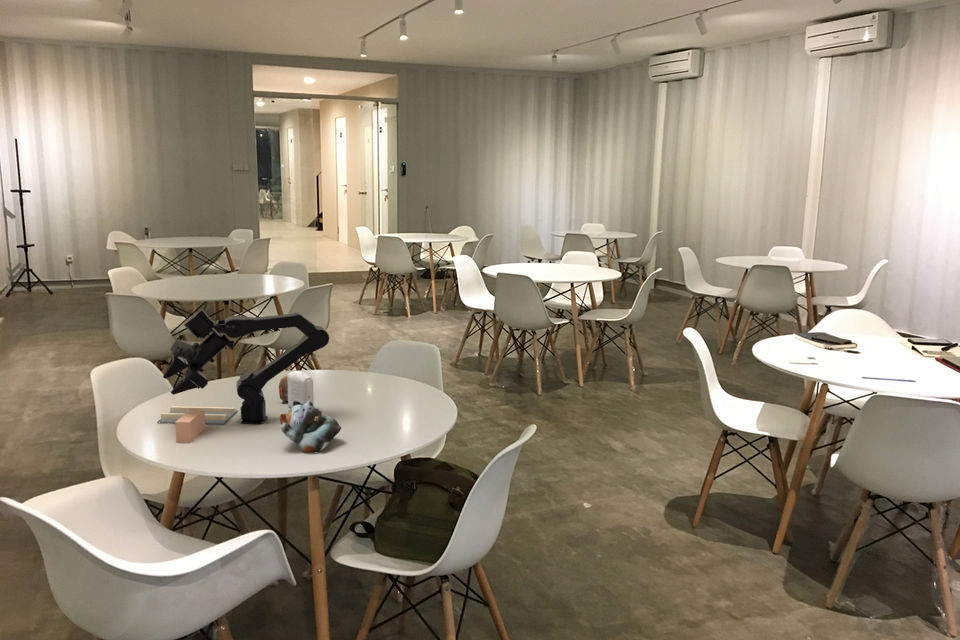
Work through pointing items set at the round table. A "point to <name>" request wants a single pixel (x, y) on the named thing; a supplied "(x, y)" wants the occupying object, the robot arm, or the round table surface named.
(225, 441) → the round table surface
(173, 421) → the slot mat
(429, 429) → the round table surface
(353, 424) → the round table surface
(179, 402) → the round table surface
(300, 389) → the photo printer
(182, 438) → the pink rectangular brick
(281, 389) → the tin
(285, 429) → the lucky cat figurine
